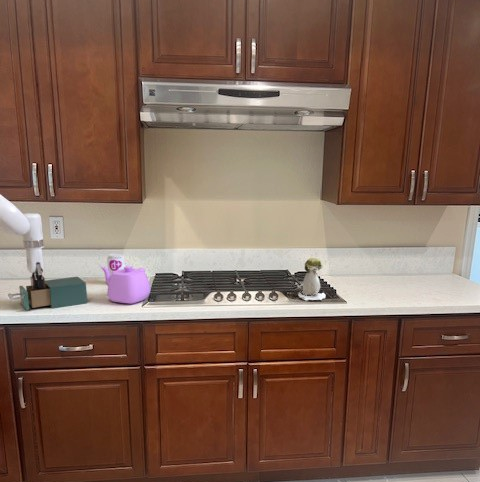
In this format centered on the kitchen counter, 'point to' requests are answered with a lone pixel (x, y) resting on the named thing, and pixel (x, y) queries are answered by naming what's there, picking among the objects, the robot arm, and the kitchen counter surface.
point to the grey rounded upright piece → (312, 281)
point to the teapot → (127, 285)
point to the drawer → (33, 297)
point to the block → (34, 282)
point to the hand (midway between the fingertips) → (38, 287)
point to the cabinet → (67, 292)
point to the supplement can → (115, 262)
